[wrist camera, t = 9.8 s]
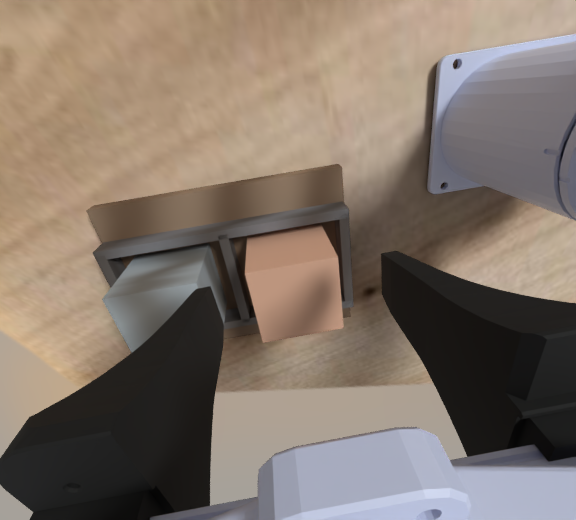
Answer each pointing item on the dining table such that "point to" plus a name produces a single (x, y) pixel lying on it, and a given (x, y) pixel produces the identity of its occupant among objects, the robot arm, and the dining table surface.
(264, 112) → the dining table surface
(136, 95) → the dining table surface
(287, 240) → the terracotta block
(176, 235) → the puzzle board
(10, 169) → the dining table surface
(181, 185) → the dining table surface
